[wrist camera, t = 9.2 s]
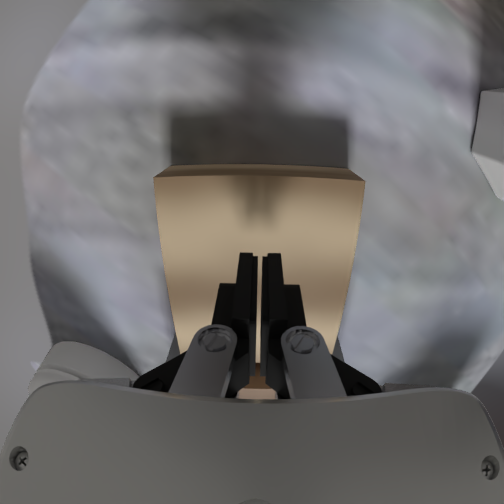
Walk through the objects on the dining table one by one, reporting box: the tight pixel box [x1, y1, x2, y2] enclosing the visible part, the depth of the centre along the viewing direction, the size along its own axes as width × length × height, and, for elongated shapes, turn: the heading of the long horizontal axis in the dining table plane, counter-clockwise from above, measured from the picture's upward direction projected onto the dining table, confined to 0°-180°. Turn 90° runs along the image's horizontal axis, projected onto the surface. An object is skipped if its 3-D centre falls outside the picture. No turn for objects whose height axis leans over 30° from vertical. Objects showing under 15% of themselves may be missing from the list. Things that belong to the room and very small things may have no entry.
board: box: [153, 164, 365, 363], centre depth 17 cm, size 12×10×3 cm
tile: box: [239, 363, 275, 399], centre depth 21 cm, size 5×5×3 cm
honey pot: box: [28, 341, 139, 396], centre depth 18 cm, size 13×13×18 cm
